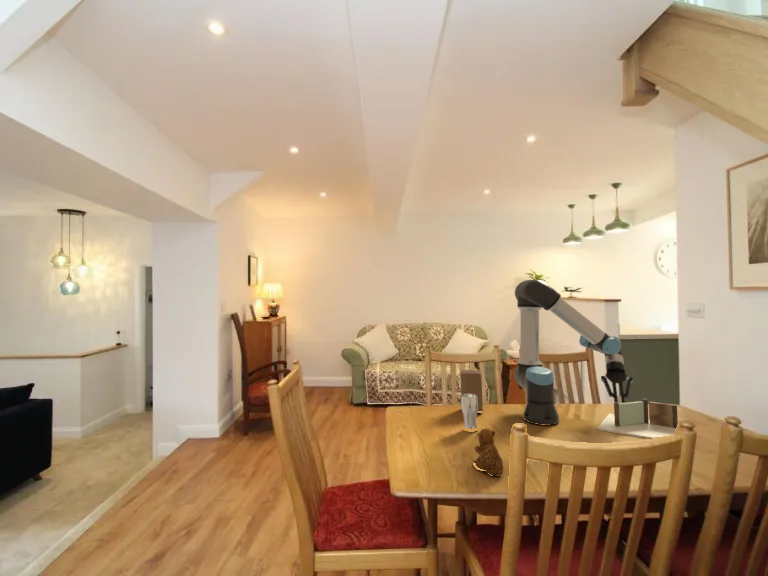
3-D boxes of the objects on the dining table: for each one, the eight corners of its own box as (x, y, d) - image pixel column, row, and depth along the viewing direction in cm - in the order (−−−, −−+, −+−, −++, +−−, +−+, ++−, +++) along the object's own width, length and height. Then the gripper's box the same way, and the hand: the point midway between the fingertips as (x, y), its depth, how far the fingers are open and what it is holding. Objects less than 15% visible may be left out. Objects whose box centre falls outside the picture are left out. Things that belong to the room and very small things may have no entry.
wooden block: (461, 413, 192) (460, 373, 192) (462, 408, 201) (461, 369, 202) (482, 414, 189) (481, 373, 190) (482, 408, 199) (481, 369, 199)
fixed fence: (642, 425, 168) (641, 399, 168) (643, 423, 170) (642, 398, 170) (677, 430, 160) (676, 403, 161) (678, 429, 162) (677, 402, 162)
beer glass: (465, 426, 173) (464, 392, 173) (480, 429, 170) (479, 394, 170) (459, 431, 167) (458, 396, 168) (475, 434, 164) (474, 398, 164)
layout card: (597, 429, 164) (597, 427, 164) (609, 415, 183) (609, 413, 183) (677, 443, 147) (677, 441, 147) (681, 426, 165) (681, 424, 165)
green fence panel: (617, 426, 165) (616, 403, 165) (613, 424, 166) (612, 402, 167) (644, 423, 167) (643, 400, 167) (641, 421, 169) (640, 399, 169)
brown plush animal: (498, 461, 137) (497, 423, 137) (512, 480, 122) (510, 438, 123) (470, 462, 136) (468, 424, 137) (480, 482, 122) (479, 439, 123)
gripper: (630, 370, 184) (637, 416, 169) (599, 369, 190) (603, 413, 175) (631, 361, 180) (639, 407, 164) (599, 360, 185) (603, 404, 170)
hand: (620, 410), depth 169 cm, fingers closed
